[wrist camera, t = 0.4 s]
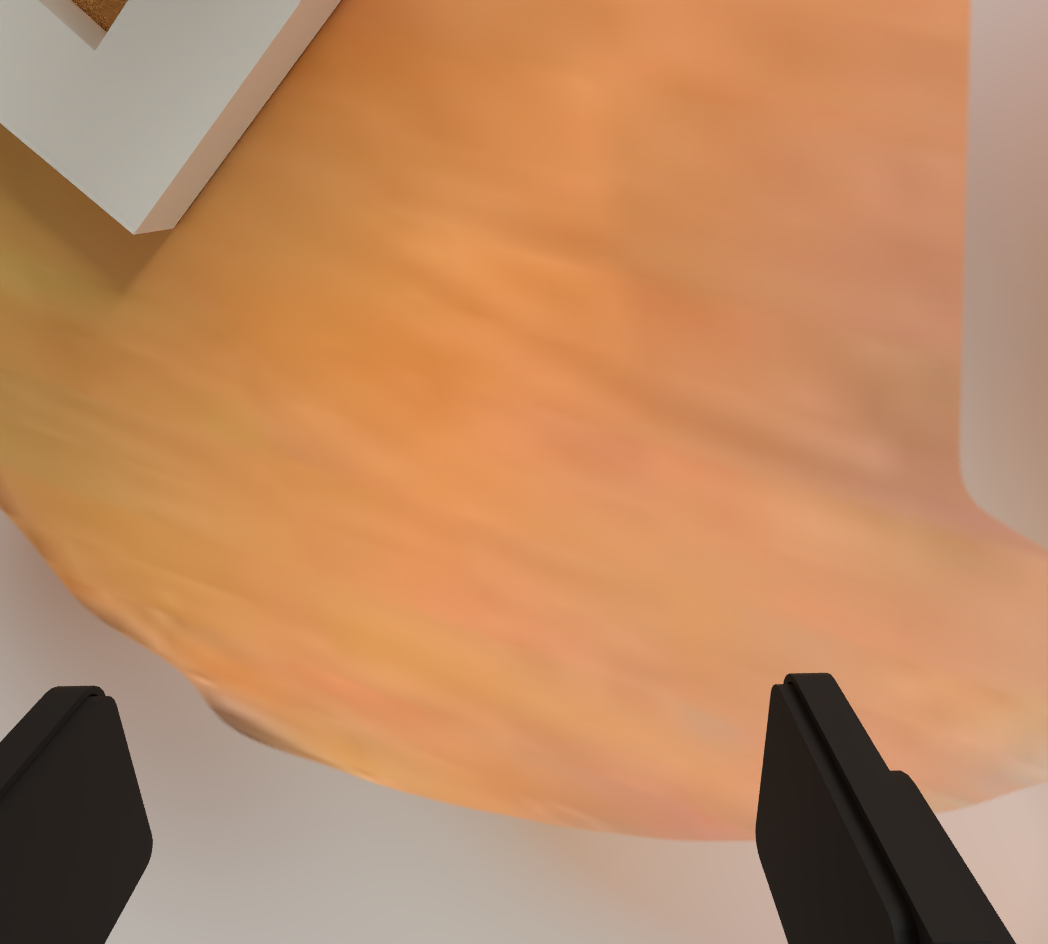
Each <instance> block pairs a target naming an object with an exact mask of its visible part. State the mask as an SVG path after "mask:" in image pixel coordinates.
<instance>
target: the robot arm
mask: <svg viewBox="0 0 1048 944" xmlns="http://www.w3.org/2000/svg"><path fill="white" fill-rule="evenodd" d="M756 844H757V849H758V854H759V858H760V860H761V864H762V867H763V870H764V873H765V875H766V878H767V881H768V884H769V887H770V890H771V893H772V896H773V899H774V902H775V905H776V908H777V911H778V914H779V917H780V920H781V923H782V926H783V929H784V932H785V935H786V938H787V941H788V944H1016V943H1015V941H1014V940H1013V938H1012V937H1011V935H1010V933H1009V932H1008V930H1007V929H1006V927H1005V926H1004V924H1003V922H1002V921H1001V919H1000V917H999V916H998V914H997V913H996V911H995V910H994V908H993V906H992V905H991V903H990V902H989V900H988V899H987V897H986V895H985V894H984V892H983V891H982V889H981V887H980V886H979V884H978V883H977V881H976V879H975V878H974V876H973V875H972V873H971V872H970V870H969V868H968V867H967V865H966V864H965V862H964V861H963V859H962V857H961V856H960V854H959V853H958V851H957V849H956V848H955V846H954V845H953V843H952V841H951V840H950V838H949V837H948V835H947V833H946V832H945V831H944V829H943V827H942V826H941V824H940V822H939V821H938V819H937V818H936V816H935V814H934V813H933V811H932V810H931V808H930V807H929V805H928V803H927V802H926V800H925V799H924V797H923V795H922V794H921V792H920V791H919V789H918V788H917V786H916V784H915V783H914V782H913V781H912V779H911V778H910V777H909V776H908V775H907V774H906V773H904V772H902V771H890V770H889V769H888V767H887V765H886V764H885V762H884V760H883V759H882V757H881V755H880V754H879V752H878V750H877V749H876V747H875V745H874V744H873V742H872V740H871V739H870V737H869V736H868V734H867V732H866V731H865V729H864V727H863V726H862V724H861V722H860V721H859V719H858V717H857V716H856V714H855V712H854V711H853V709H852V707H851V706H850V704H849V702H848V701H847V699H846V697H845V696H844V694H843V692H842V691H841V689H840V687H839V686H838V684H837V682H836V681H835V679H834V678H833V677H832V675H831V674H828V673H796V674H788V675H786V677H785V679H784V684H775V685H773V687H772V690H771V696H770V705H769V714H768V723H767V732H766V740H765V749H764V758H763V767H762V776H761V785H760V793H759V802H758V811H757V820H756ZM152 845H153V839H152V834H151V830H150V826H149V823H148V819H147V815H146V812H145V808H144V804H143V800H142V797H141V793H140V790H139V786H138V782H137V778H136V775H135V771H134V767H133V764H132V760H131V757H130V753H129V749H128V745H127V741H126V738H125V734H124V730H123V727H122V723H121V720H120V716H119V712H118V708H117V705H116V703H115V700H114V699H113V698H112V697H110V696H105V693H104V691H103V690H102V689H101V688H100V687H97V686H58V687H54V688H52V689H50V690H49V691H48V692H46V693H45V694H44V696H43V697H42V698H41V699H40V700H39V701H38V702H37V703H36V704H35V705H34V706H33V707H32V709H31V710H30V711H29V712H28V713H27V714H26V715H25V716H24V717H23V718H22V719H21V720H20V722H19V723H18V724H17V725H16V726H15V727H14V728H13V729H12V730H11V731H10V732H9V733H8V734H7V736H6V737H5V738H4V739H3V740H2V741H1V742H0V944H105V942H106V940H107V938H108V936H109V934H110V932H111V931H112V929H113V927H114V925H115V924H116V922H117V920H118V918H119V916H120V914H121V912H122V911H123V909H124V907H125V905H126V903H127V902H128V900H129V898H130V896H131V894H132V892H133V891H134V889H135V887H136V885H137V884H138V882H139V880H140V878H141V876H142V874H143V873H144V871H145V869H146V867H147V865H148V863H149V860H150V857H151V853H152Z"/></svg>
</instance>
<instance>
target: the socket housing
mask: <svg viewBox="0 0 1048 944" xmlns="http://www.w3.org/2000/svg"><path fill="white" fill-rule="evenodd" d="M340 1H341V0H128V1H127V2H126V4H125V6H124V7H123V9H122V10H121V12H120V13H119V15H118V16H117V18H116V20H115V21H114V23H113V24H112V26H111V27H110V29H109V30H108V32H106V31H105V30H103V29H102V28H101V27H100V26H99V25H98V24H97V23H96V22H95V21H94V20H92V19H91V18H90V17H89V16H88V15H87V14H86V13H85V12H84V11H82V10H81V9H80V8H79V7H78V6H77V5H76V4H75V3H74V2H73V1H71V0H0V123H1V124H2V125H3V126H4V127H5V128H7V129H8V130H9V131H10V132H11V133H13V134H14V135H15V136H16V137H17V138H19V139H20V140H21V141H22V142H23V143H24V144H26V145H27V146H28V147H29V148H30V149H32V150H33V151H34V152H35V153H36V154H38V155H39V156H40V157H41V158H42V159H44V160H45V161H46V162H47V163H48V164H50V165H51V166H52V167H53V168H54V169H56V170H57V171H58V172H59V173H60V174H61V175H63V176H64V177H65V178H66V179H67V180H69V181H70V182H71V183H72V184H73V185H75V186H76V187H77V188H78V189H79V190H81V191H82V192H83V193H84V194H85V195H87V196H88V197H89V198H90V199H91V200H93V201H94V202H95V203H96V204H97V205H98V206H100V207H101V208H102V209H103V210H104V211H106V212H107V213H108V214H109V215H110V216H112V217H113V218H114V219H115V220H116V221H118V222H119V223H120V224H121V225H122V226H124V227H125V228H126V229H127V230H128V231H130V232H131V233H132V234H133V235H135V234H141V233H148V232H154V231H161V230H168V229H173V228H174V227H175V226H176V224H177V223H178V221H179V220H180V219H181V217H182V216H183V215H184V213H185V212H186V211H187V209H188V208H189V207H190V205H191V204H192V202H193V201H194V200H195V198H196V197H197V196H198V194H199V193H200V192H201V190H202V189H203V187H204V186H205V185H206V183H207V182H208V181H209V179H210V178H211V177H212V175H213V174H214V173H215V171H216V170H217V168H218V167H219V166H220V164H221V163H222V162H223V160H224V159H225V158H226V156H227V155H228V153H229V152H230V151H231V149H232V148H233V147H234V145H235V144H236V143H237V141H238V140H239V139H240V137H241V136H242V134H243V133H244V132H245V130H246V129H247V128H248V126H249V125H250V124H251V122H252V121H253V119H254V118H255V117H256V115H257V114H258V113H259V111H260V110H261V109H262V107H263V106H264V105H265V103H266V102H267V100H268V99H269V98H270V96H271V95H272V94H273V92H274V91H275V90H276V88H277V87H278V85H279V84H280V83H281V81H282V80H283V79H284V77H285V76H286V75H287V73H288V72H289V70H290V69H291V68H292V66H293V65H294V64H295V62H296V61H297V60H298V58H299V57H300V56H301V54H302V53H303V51H304V50H305V49H306V47H307V46H308V45H309V43H310V42H311V41H312V39H313V38H314V36H315V35H316V34H317V32H318V31H319V30H320V28H321V27H322V26H323V24H324V23H325V22H326V20H327V19H328V17H329V16H330V15H331V13H332V12H333V11H334V9H335V8H336V7H337V5H338V4H339V2H340Z"/></svg>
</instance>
